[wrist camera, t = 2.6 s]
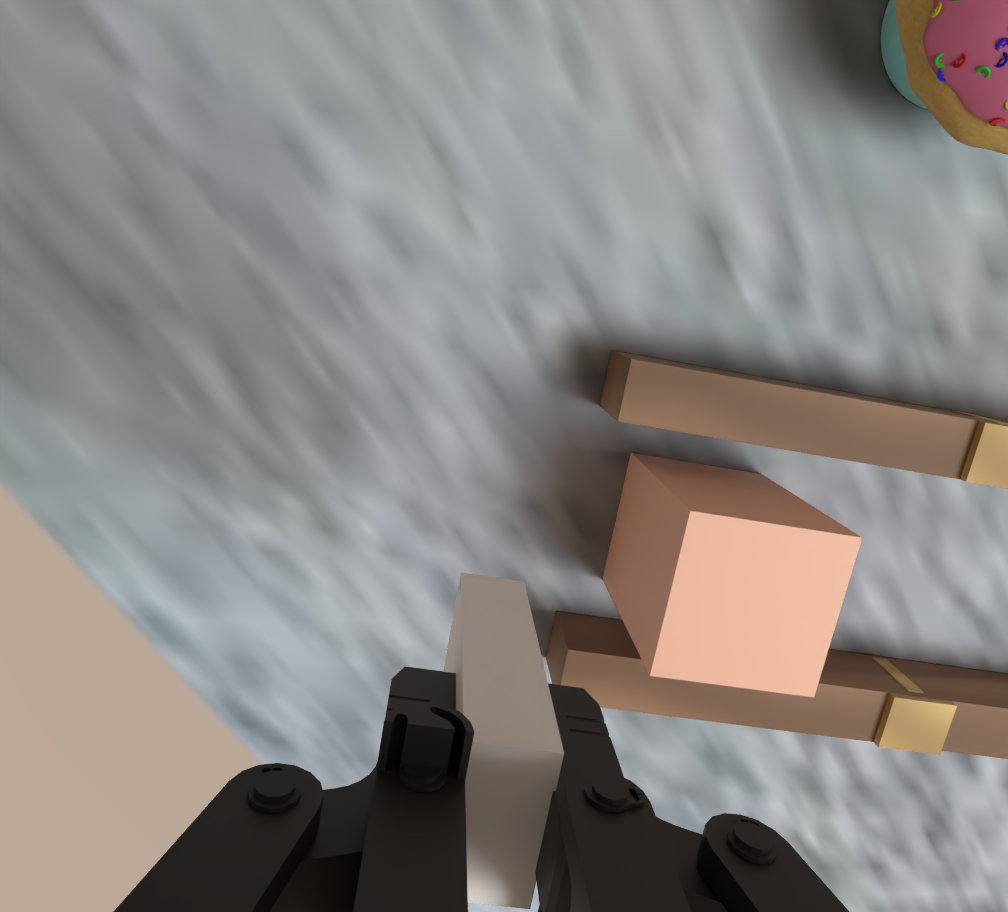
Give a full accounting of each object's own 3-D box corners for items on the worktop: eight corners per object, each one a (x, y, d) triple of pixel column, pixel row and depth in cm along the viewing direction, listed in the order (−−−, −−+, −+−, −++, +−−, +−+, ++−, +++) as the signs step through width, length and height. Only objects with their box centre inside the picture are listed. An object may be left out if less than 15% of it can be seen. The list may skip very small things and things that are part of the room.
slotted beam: (612, 348, 26) (634, 358, 23) (1262, 465, 28) (1364, 488, 25) (546, 659, 28) (557, 707, 25) (1146, 739, 31) (1226, 791, 28)
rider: (630, 452, 27) (690, 510, 20) (760, 473, 27) (862, 537, 21) (602, 579, 28) (650, 675, 21) (728, 597, 28) (814, 697, 22)
